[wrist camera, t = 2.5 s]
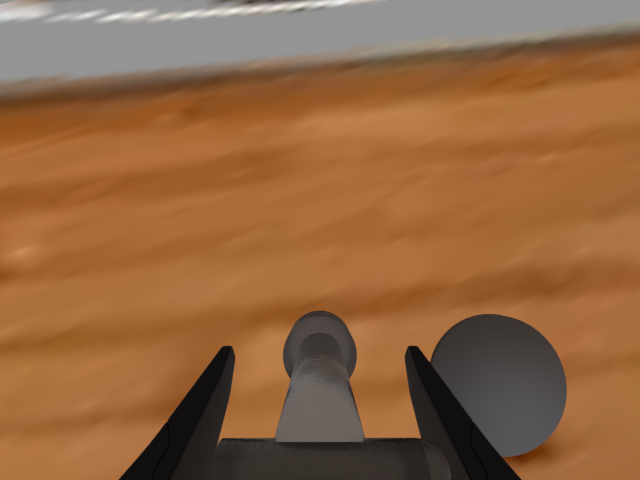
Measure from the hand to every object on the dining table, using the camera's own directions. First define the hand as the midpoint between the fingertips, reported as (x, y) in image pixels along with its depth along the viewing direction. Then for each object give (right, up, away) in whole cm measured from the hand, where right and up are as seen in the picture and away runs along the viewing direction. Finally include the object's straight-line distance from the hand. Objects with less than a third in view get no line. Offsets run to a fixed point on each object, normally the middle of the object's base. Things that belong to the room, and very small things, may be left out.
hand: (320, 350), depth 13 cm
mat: (+12, -5, +7) cm, 14 cm away
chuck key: (0, -2, +7) cm, 7 cm away
